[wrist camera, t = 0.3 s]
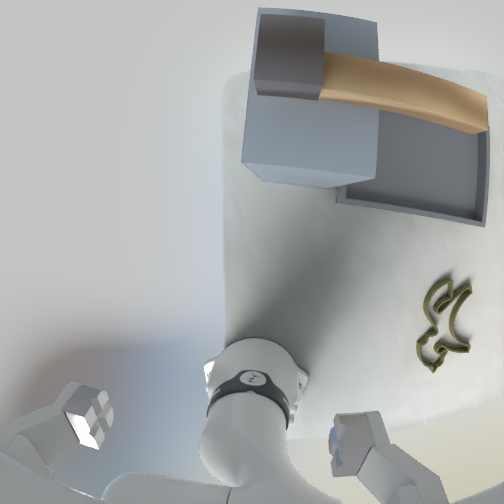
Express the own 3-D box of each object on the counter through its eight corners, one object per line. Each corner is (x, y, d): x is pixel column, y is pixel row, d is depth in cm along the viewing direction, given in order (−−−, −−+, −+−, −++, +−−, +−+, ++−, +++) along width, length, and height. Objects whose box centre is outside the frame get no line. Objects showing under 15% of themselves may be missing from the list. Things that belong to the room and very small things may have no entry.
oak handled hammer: (472, 145, 20) (510, 136, 14) (260, 105, 21) (253, 79, 16) (470, 92, 19) (504, 74, 14) (265, 49, 20) (260, 13, 15)
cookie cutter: (465, 355, 49) (469, 359, 47) (415, 372, 51) (418, 377, 49) (467, 271, 47) (472, 274, 45) (413, 286, 48) (417, 290, 46)
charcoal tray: (474, 225, 45) (484, 227, 41) (335, 202, 47) (339, 202, 44) (479, 129, 42) (489, 126, 38) (343, 94, 44) (347, 87, 41)
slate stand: (327, 188, 47) (375, 178, 21) (263, 181, 48) (241, 162, 22) (333, 104, 44) (376, 22, 19) (271, 97, 45) (258, 7, 20)
